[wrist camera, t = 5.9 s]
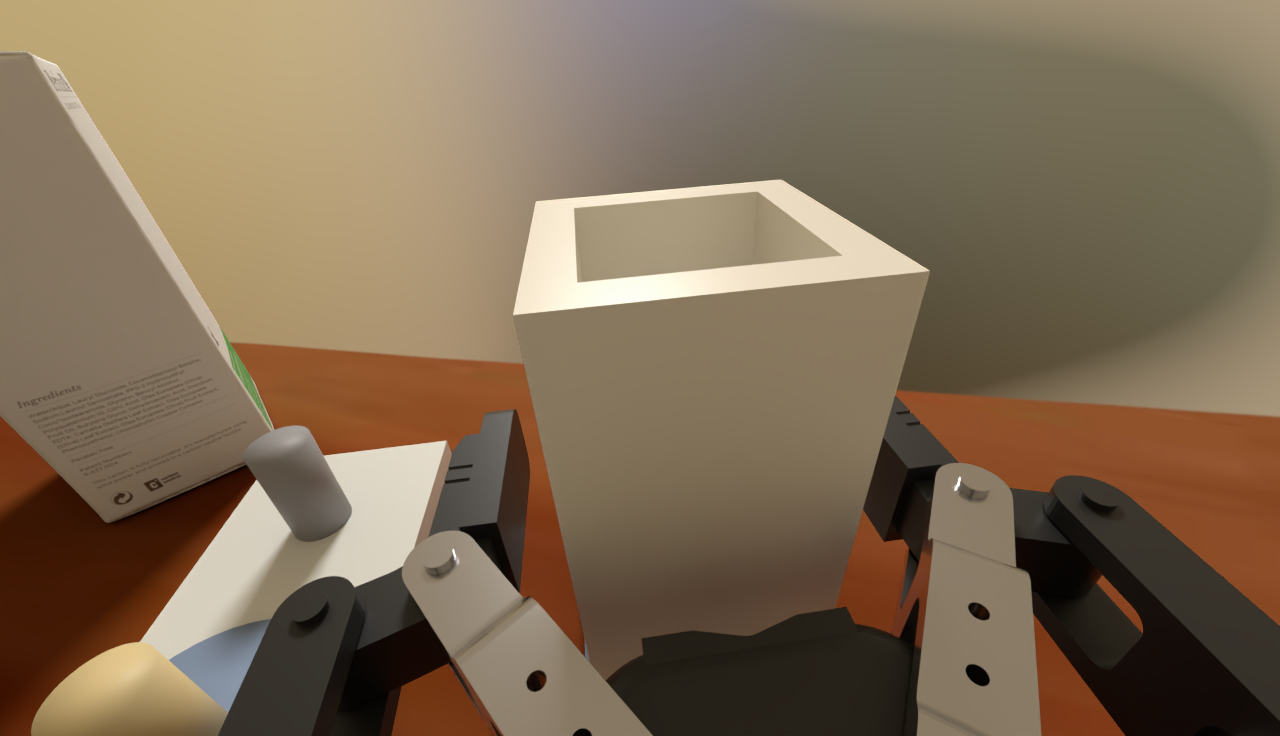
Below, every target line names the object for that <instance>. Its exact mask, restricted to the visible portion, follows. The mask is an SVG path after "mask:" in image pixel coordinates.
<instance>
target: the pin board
mask: <svg viewBox="0 0 1280 736" xmlns="http://www.w3.org/2000/svg"><path fill="white" fill-rule="evenodd" d="M451 456H452V454H451V451H450V448H449V446H448V443H447V441H440V442H432V443H424V444H416V445H408V446H400V447H392V448H383V449H375V450H367V451H359V452H351V453H343V454H334V455H326V456H323V454H322V452H321V451H320V449H319V447H318V445H317V443H316V442H315V440H314V438H313V436H312V434H311V433H310V431H309V429H308V428H306V427H303V426H287V427H283V428H279V429H276V430H273V431H271V432H269V433H267V434H265V435H263V436H261V437H259V438H258V439H256V440H255V441H254V442H253V443H251V444H250V445H249V446H248V447H247V449H246V450H245V452H244V454H243V460H244V461H245V463H246V464H247V466H248V467H249V469H250V470H251V472H252V473H253V475H254V476H255V478H256V479H257V480H256V481H255V483H254V484H253V485H252V487H251V488H250V490H249V491H248V492H247V494H246V495H245V497H244V498H243V499H242V501H241V502H240V504H239V505H238V506H237V508H236V509H235V510H234V512H233V513H232V515H231V516H230V517H229V519H228V520H227V522H226V523H225V524H224V526H223V527H222V529H221V530H220V531H219V533H218V534H217V535H216V537H215V538H214V540H213V541H212V542H211V544H210V545H209V547H208V548H207V549H206V551H205V552H204V554H203V555H202V556H201V558H200V559H199V560H198V562H197V563H196V565H195V566H194V567H193V569H192V570H191V572H190V573H189V574H188V576H187V577H186V579H185V580H184V581H183V583H182V584H181V585H180V587H179V588H178V590H177V591H176V592H175V594H174V595H173V597H172V598H171V599H170V601H169V602H168V604H167V605H166V606H165V608H164V609H163V611H162V612H161V613H160V615H159V616H158V617H157V619H156V620H155V622H154V623H153V624H152V626H151V627H150V629H149V630H148V631H147V633H146V634H145V636H144V637H143V638H142V640H141V641H140V642H135V643H129V644H124V645H121V646H118V647H115V648H113V649H110V650H108V651H106V652H104V653H102V654H100V655H98V656H96V657H95V658H93V659H91V660H90V661H88V662H86V663H85V664H83V665H82V666H81V667H79V668H78V669H77V670H75V671H74V672H73V673H71V674H70V675H69V676H68V677H67V678H65V679H64V680H63V681H62V682H61V683H60V684H59V685H58V686H57V687H56V688H55V689H54V690H53V691H52V692H51V694H50V695H49V696H48V697H47V698H46V700H45V701H44V702H43V704H42V705H41V707H40V708H39V710H38V712H37V714H36V716H35V718H34V720H33V723H32V728H31V734H32V736H218V734H219V732H220V730H221V728H222V725H223V723H224V721H225V719H226V717H227V714H228V712H229V710H230V708H231V706H232V704H233V701H234V699H235V697H236V695H237V693H238V690H239V688H240V686H241V684H242V682H243V679H244V677H245V675H246V673H247V671H248V669H249V666H250V664H251V662H252V660H253V658H254V655H255V653H256V651H257V649H258V647H259V644H260V642H261V640H262V638H263V636H264V634H265V631H266V629H267V627H268V625H269V623H270V620H271V618H272V617H273V615H274V613H275V611H276V610H277V609H278V607H279V606H280V605H281V604H282V603H283V601H284V600H285V599H286V598H288V597H289V596H290V595H291V594H292V593H293V592H295V591H296V590H297V589H299V588H301V587H302V586H304V585H306V584H308V583H310V582H312V581H314V580H317V579H319V578H323V577H329V576H340V577H344V578H346V579H348V580H349V581H350V582H351V583H352V584H353V586H354V587H356V586H359V585H361V584H364V583H366V582H369V581H371V580H374V579H376V578H378V577H381V576H383V575H386V574H388V573H390V572H393V571H395V570H397V569H398V568H400V567H402V566H403V564H404V562H405V560H406V558H407V556H408V555H409V553H410V552H411V551H412V550H413V549H414V548H415V547H416V546H417V545H418V544H419V543H420V542H422V541H423V540H425V539H426V538H428V536H429V533H430V529H431V526H432V522H433V519H434V515H435V512H436V508H437V505H438V501H439V498H440V494H441V491H442V487H443V484H445V481H444V480H445V477H446V473H447V471H448V466H449V463H450V459H451Z"/></svg>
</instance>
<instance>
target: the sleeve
mask: <svg viewBox="0 0 1280 736" xmlns="http://www.w3.org/2000/svg"><path fill="white" fill-rule="evenodd" d="M929 273H930V271H929V270H928V269H926V268H924V267H923V266H921V265H919V264H918V263H916V262H914V261H913V260H911V259H910V258H908V257H906V256H905V255H903V254H902V253H900V252H898V251H897V250H895V249H893V248H892V247H890V246H888V245H887V244H885V243H884V242H882V241H880V240H879V239H877V238H875V237H874V236H872V235H871V234H869V233H867V232H866V231H864V230H862V229H861V228H859V227H858V226H856V225H854V224H853V223H851V222H849V221H848V220H846V219H845V218H843V217H841V216H840V215H838V214H836V213H835V212H833V211H831V210H830V209H828V208H827V207H825V206H823V205H822V204H820V203H818V202H817V201H815V200H813V199H812V198H810V197H809V196H807V195H805V194H804V193H802V192H801V191H799V190H797V189H796V188H794V187H792V186H791V185H789V184H788V183H786V182H784V181H783V180H770V181H760V182H748V183H738V184H726V185H715V186H703V187H692V188H681V189H671V190H660V191H647V192H637V193H625V194H614V195H603V196H592V197H580V198H569V199H558V200H547V201H536V205H535V210H534V214H533V219H532V224H531V229H530V234H529V239H528V244H527V249H526V254H525V259H524V264H523V269H522V274H521V279H520V284H519V289H518V293H517V299H516V303H515V309H514V314H513V317H514V321H515V326H516V330H517V335H518V339H519V344H520V348H521V353H522V357H523V362H524V367H525V371H526V376H527V380H528V385H529V389H530V394H531V398H532V403H533V407H534V412H535V416H536V421H537V425H538V430H539V434H540V439H541V444H542V448H543V453H544V457H545V462H546V466H547V471H548V475H549V480H550V484H551V489H552V493H553V498H554V502H555V507H556V511H557V516H558V520H559V525H560V530H561V534H562V539H563V543H564V548H565V552H566V557H567V561H568V566H569V570H570V575H571V579H572V584H573V588H574V593H575V597H576V602H577V607H578V611H579V616H580V620H581V625H582V629H583V634H584V638H585V658H586V659H587V660H588V661H589V663H590V664H591V665H592V666H593V667H594V668H595V669H596V671H597V672H598V673H599V674H600V675H601V676H602V678H603V679H604V680H605V681H606V680H607V679H608V678H609V677H610V675H612V674H613V673H614V672H615V671H617V670H618V669H619V668H620V667H621V666H623V665H625V664H626V663H628V662H629V661H631V660H633V659H635V658H637V657H639V656H641V655H643V648H642V639H641V638H647V637H653V636H660V635H666V634H673V633H680V632H686V631H703V632H712V633H721V634H731V635H740V636H751V635H754V634H756V633H759V632H761V631H763V630H765V629H767V628H769V627H771V626H773V625H776V624H778V623H780V622H782V621H784V620H786V619H788V618H791V617H793V616H795V615H797V614H803V613H810V612H816V611H823V610H829V609H835V606H836V603H837V599H838V596H839V592H840V589H841V585H842V582H843V578H844V574H845V571H846V567H847V564H848V560H849V557H850V553H851V550H852V546H853V543H854V539H855V535H856V532H857V528H858V525H859V521H860V518H861V514H862V511H863V507H864V504H865V500H866V496H867V493H868V489H869V486H870V482H871V479H872V475H873V472H874V468H875V464H876V461H877V457H878V454H879V450H880V447H881V443H882V440H883V436H884V433H885V429H886V425H887V422H888V418H889V415H890V411H891V408H892V404H893V401H894V397H895V394H896V390H897V386H898V383H899V379H900V376H901V372H902V368H903V365H904V362H905V358H906V355H907V351H908V347H909V344H910V340H911V337H912V333H913V329H914V326H915V323H916V319H917V316H918V312H919V308H920V305H921V301H922V297H923V294H924V290H925V287H926V283H927V280H928V276H929Z"/></svg>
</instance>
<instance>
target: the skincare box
mask: <svg viewBox="0 0 1280 736" xmlns="http://www.w3.org/2000/svg"><path fill="white" fill-rule="evenodd" d="M0 416H1V417H2V418H3V419H4V420H5V421H6V422H7V423H8V424H9V425H10V426H11V427H12V428H13V429H14V430H15V431H16V432H17V433H18V434H19V435H20V436H21V437H22V438H23V439H24V440H25V441H26V442H27V443H28V444H29V445H30V446H31V447H32V448H33V449H34V450H35V451H36V452H37V453H38V454H39V455H40V456H41V457H42V458H43V459H44V460H45V461H46V462H47V463H48V464H49V465H50V466H51V467H52V468H53V469H55V471H56V472H57V473H58V474H59V475H60V476H61V477H62V478H63V479H64V480H65V481H66V482H67V483H68V484H69V485H70V486H71V487H72V488H73V489H74V490H75V491H76V492H77V493H78V494H79V495H80V496H81V497H82V498H83V499H84V500H85V501H86V502H87V503H88V504H89V505H90V506H91V507H92V508H93V509H94V510H95V511H96V512H97V513H98V515H99V516H100V517H101V518H102V519H103V520H104V521H105V522H107V523H110V522H114V521H116V520H119V519H122V518H124V517H127V516H129V515H132V514H134V513H137V512H139V511H141V510H144V509H146V508H149V507H151V506H153V505H156V504H158V503H160V502H162V501H165V500H167V499H169V498H172V497H174V496H176V495H178V494H181V493H183V492H185V491H188V490H190V489H192V488H195V487H197V486H199V485H202V484H204V483H206V482H208V481H211V480H213V479H215V478H217V477H220V476H222V475H224V474H226V473H228V472H231V471H233V470H235V469H237V468H239V467H242V466H244V465H246V463H245V461H244V460H243V454H244V452H245V450H246V449H247V447H248V446H249V445H250V444H251V443H253V442H254V441H255V440H256V439H258V438H259V437H261V436H263V435H265V434H267V433H269V432H271V431H273V430H274V427H273V425H272V422H271V420H270V418H269V416H268V413H267V411H266V409H265V407H264V405H263V402H262V400H261V398H260V395H259V393H258V390H257V387H256V385H255V383H254V381H253V380H252V378H251V376H250V375H249V373H248V371H247V370H246V368H245V366H244V365H243V363H242V362H241V360H240V358H239V357H238V355H237V353H236V352H235V350H234V349H233V347H232V345H231V344H230V342H229V341H228V339H227V338H226V336H225V334H224V333H223V331H222V329H221V328H220V326H219V325H218V323H217V322H216V320H215V318H214V317H213V315H212V313H211V312H210V310H209V309H208V307H207V305H206V304H205V302H204V300H203V299H202V297H201V296H200V294H199V293H198V291H197V289H196V287H195V286H194V284H193V283H192V281H191V279H190V278H189V276H188V274H187V273H186V271H185V269H184V268H183V266H182V264H181V263H180V261H179V259H178V258H177V256H176V255H175V253H174V251H173V250H172V248H171V247H170V245H169V243H168V241H167V240H166V238H165V236H164V235H163V234H162V232H161V230H160V228H159V227H158V225H157V224H156V222H155V220H154V219H153V217H152V215H151V214H150V212H149V211H148V209H147V207H146V206H145V204H144V203H143V201H142V199H141V198H140V196H139V195H138V193H137V191H136V190H135V188H134V186H133V185H132V183H131V182H130V180H129V178H128V177H127V175H126V173H125V172H124V170H123V169H122V167H121V166H120V164H119V162H118V161H117V159H116V158H115V156H114V154H113V153H112V151H111V150H110V148H109V146H108V145H107V143H106V142H105V140H104V139H103V137H102V135H101V134H100V132H99V131H98V129H97V127H96V126H95V124H94V123H93V121H92V119H91V118H90V116H89V115H88V113H87V112H86V110H85V108H84V107H83V105H82V103H81V102H80V100H79V99H78V97H77V95H76V94H75V92H74V91H73V89H72V88H71V86H70V84H69V83H68V81H67V80H66V78H65V76H64V75H63V73H62V72H61V70H60V68H59V67H58V66H57V65H56V64H54V63H51V62H48V61H46V60H44V59H42V58H39V57H37V56H35V55H32V54H31V53H29V52H19V51H14V52H13V51H3V52H2V51H1V52H0Z"/></svg>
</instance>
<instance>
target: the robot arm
mask: <svg viewBox="0 0 1280 736" xmlns="http://www.w3.org/2000/svg"><path fill="white" fill-rule="evenodd" d="M529 480H530V467H529V458H528V453H527V449H526V445H525V441H524V437H523V432H522V428H521V424H520V420H519V416H518V413H517V411H516V409H513V410H504V411H496V412H487V413H485V415H484V418H483V422H482V427H481V431H480V434H473V435H466V436H465V437H464V438H463V439H462V440H461V442H460V443H459V444H458V445H457V446H456V448H455V449H454V450H453V452H452V456H451V459H450V463H449V466H448V471H447V473H446V477H445V480H444V481H445V484H443V487H442V491H441V494H440V498H439V501H438V505H437V508H436V512H435V515H434V519H433V522H432V526H431V529H430V533H429V536H428V538H426V539H425V540H423V541H422V542H420V543H419V544H418V545H417V546H416V547H415V548H414V549H413V550H412V551H411V552H410V553H409V555H408V556H407V558H406V560H405V562H404V564H403V566H402V567H400V568H398V569H397V570H395V571H393V572H390V573H388V574H386V575H383V576H381V577H378V578H376V579H374V580H371V581H369V582H366V583H364V584H361V585H359V586H356V587H354V586H353V584H352V583H351V582H350V581H349V580H348V579H346V578H344V577H340V576H329V577H323V578H319V579H317V580H314V581H312V582H310V583H308V584H306V585H304V586H302V587H301V588H299V589H297V590H296V591H295V592H293V593H292V594H291V595H290V596H289V597H288V598H286V599H285V600H284V601H283V603H282V604H281V605H280V606H279V607H278V609H277V610H276V611H275V613H274V615H273V617H272V618H271V620H270V623H269V625H268V627H267V629H266V631H265V634H264V636H263V638H262V640H261V642H260V644H259V647H258V649H257V651H256V653H255V655H254V658H253V660H252V662H251V664H250V666H249V669H248V671H247V673H246V675H245V677H244V679H243V682H242V684H241V686H240V688H239V690H238V693H237V695H236V697H235V699H234V701H233V704H232V706H231V708H230V710H229V712H228V714H227V717H226V719H225V721H224V723H223V725H222V728H221V730H220V732H219V734H218V736H391V734H392V730H393V725H394V720H395V715H396V710H397V705H398V700H399V695H400V690H401V686H403V685H405V684H407V683H409V682H411V681H413V680H415V679H417V678H419V677H421V676H423V675H425V674H427V673H429V672H431V671H433V670H435V669H438V668H440V667H442V666H444V665H446V664H448V665H449V667H450V668H451V670H452V672H453V673H454V675H455V676H456V678H457V680H458V681H459V683H460V684H461V686H462V688H463V689H464V691H465V692H466V694H467V696H468V697H469V699H470V700H471V702H472V704H473V705H474V707H475V709H476V710H477V712H478V713H479V715H480V717H481V718H482V720H483V721H484V723H485V725H486V726H487V728H488V730H489V731H490V733H491V735H492V736H1041V724H1040V709H1039V695H1038V680H1037V666H1036V651H1035V637H1034V622H1033V614H1034V615H1035V616H1036V618H1037V619H1038V620H1039V622H1040V623H1041V624H1042V626H1043V627H1044V628H1045V630H1046V631H1047V632H1048V634H1049V635H1050V636H1051V638H1052V639H1053V640H1054V642H1055V643H1056V644H1057V646H1058V647H1059V648H1060V650H1061V651H1062V652H1063V653H1064V655H1065V656H1066V657H1067V659H1068V660H1069V661H1070V663H1071V664H1072V665H1073V667H1074V668H1075V669H1076V671H1077V672H1078V673H1079V675H1080V676H1081V677H1082V679H1083V680H1084V681H1085V683H1086V684H1087V685H1088V687H1089V688H1090V689H1091V691H1092V692H1093V693H1094V695H1095V696H1096V697H1097V698H1098V700H1099V701H1100V702H1101V704H1102V705H1103V706H1104V708H1105V709H1106V710H1107V712H1108V713H1109V714H1110V716H1111V717H1112V718H1113V720H1114V721H1115V722H1116V724H1117V725H1118V726H1119V728H1120V729H1121V730H1122V732H1123V733H1124V734H1125V736H1280V626H1279V625H1278V624H1277V623H1276V622H1274V621H1273V620H1272V619H1271V618H1270V617H1269V616H1267V615H1266V614H1265V613H1264V612H1263V611H1262V610H1260V609H1259V608H1258V607H1257V606H1256V605H1255V604H1253V603H1252V602H1251V601H1250V600H1249V599H1248V598H1247V597H1245V596H1244V595H1243V594H1242V593H1241V592H1240V591H1238V590H1237V589H1236V588H1235V587H1234V586H1233V585H1231V584H1230V583H1229V582H1228V581H1227V580H1226V579H1224V578H1223V577H1222V576H1221V575H1220V574H1219V573H1217V572H1216V571H1215V570H1214V569H1213V568H1212V567H1210V566H1209V565H1208V564H1207V563H1206V562H1205V561H1203V560H1202V559H1201V558H1200V557H1199V556H1198V555H1196V554H1195V553H1194V552H1193V551H1192V550H1191V549H1190V548H1188V547H1187V546H1186V545H1185V544H1184V543H1183V542H1181V541H1180V540H1179V539H1178V538H1177V537H1176V536H1174V535H1173V534H1172V533H1171V532H1170V531H1169V530H1167V529H1166V528H1165V527H1164V526H1163V525H1162V524H1160V523H1159V522H1158V521H1157V520H1156V519H1155V518H1153V517H1152V516H1151V515H1150V514H1149V513H1148V512H1146V511H1145V510H1144V509H1143V508H1142V507H1141V506H1139V505H1138V504H1137V503H1136V502H1135V501H1134V500H1133V499H1131V498H1130V497H1129V496H1128V495H1126V494H1125V493H1123V492H1122V491H1120V490H1119V489H1117V488H1115V487H1113V486H1111V485H1109V484H1107V483H1105V482H1102V481H1099V480H1096V479H1093V478H1089V477H1084V476H1064V477H1061V478H1059V479H1058V480H1057V481H1056V482H1055V483H1054V485H1053V487H1052V489H1051V490H1050V492H1049V493H1048V492H1039V491H1031V490H1022V489H1013V488H1009V487H1008V486H1007V485H1006V484H1005V483H1004V482H1003V481H1002V480H1001V479H1000V478H999V477H997V476H996V475H994V474H993V473H991V472H989V471H987V470H985V469H983V468H980V467H977V466H974V465H970V464H965V463H959V462H958V461H957V460H956V459H955V458H954V457H953V456H952V455H951V454H950V453H949V452H948V451H947V450H946V449H945V448H944V446H943V445H942V444H941V443H940V442H939V441H938V440H937V439H936V438H935V437H934V436H933V435H932V434H931V433H930V432H929V431H928V429H927V428H926V427H925V426H924V425H923V424H922V425H921V424H920V421H919V420H918V419H917V418H916V417H915V416H914V415H913V414H912V413H911V414H910V410H909V409H908V408H907V407H906V406H905V405H904V404H903V403H902V402H901V401H900V400H899V399H898V398H897V397H896V396H895V397H894V401H893V404H892V408H891V411H890V415H889V418H888V422H887V425H886V429H885V433H884V436H883V440H882V443H881V447H880V450H879V454H878V457H877V461H876V464H875V468H874V472H873V475H872V479H871V482H870V486H869V489H868V493H867V496H866V500H865V504H864V507H863V510H864V511H865V513H866V514H867V516H868V518H869V519H870V521H871V522H872V524H873V525H874V527H875V529H876V530H877V532H878V533H879V535H880V536H881V538H882V539H883V541H884V542H885V541H892V540H899V539H904V541H905V542H906V544H907V545H908V548H907V551H906V554H905V558H904V565H903V571H902V577H901V583H900V589H899V595H898V602H897V608H896V614H895V620H894V624H893V628H892V632H891V634H890V633H888V632H885V631H882V630H879V629H877V628H874V627H869V626H865V625H861V624H854V622H853V620H852V618H851V615H850V613H849V611H848V609H847V607H842V608H836V609H829V610H823V611H816V612H810V613H803V614H797V615H795V616H793V617H791V618H788V619H786V620H784V621H782V622H780V623H778V624H776V625H773V626H771V627H769V628H767V629H765V630H763V631H761V632H759V633H756V634H754V635H751V636H740V635H731V634H721V633H712V632H703V631H686V632H680V633H673V634H666V635H660V636H653V637H647V638H641V639H642V648H643V655H641V656H639V657H637V658H635V659H633V660H631V661H629V662H628V663H626V664H625V665H623V666H621V667H620V668H619V669H618V670H617V671H615V672H614V673H613V674H612V675H610V677H609V678H608V679H607V680H606V681H605V680H604V679H603V678H602V676H601V675H600V674H599V673H598V672H597V671H596V669H595V668H594V667H593V666H592V665H591V664H590V663H589V661H588V660H587V659H586V658H585V657H584V656H583V654H582V653H581V652H580V651H579V650H578V649H577V648H576V646H575V645H574V644H573V643H572V642H571V641H570V639H569V638H568V637H567V636H566V635H565V634H564V633H563V631H562V630H561V629H560V628H559V627H558V626H557V624H556V623H555V622H554V621H553V620H552V619H551V618H550V616H549V615H548V614H547V613H546V612H545V611H544V609H543V608H542V607H541V606H540V605H539V604H538V603H537V602H536V601H535V600H534V599H533V598H531V597H527V598H526V599H525V598H523V597H522V596H521V595H520V594H519V593H520V582H521V571H522V559H523V548H524V537H525V525H526V514H527V503H528V492H529ZM1102 575H1103V576H1104V577H1105V578H1106V579H1107V580H1108V581H1109V582H1110V583H1111V584H1112V585H1113V586H1114V587H1115V588H1116V590H1117V591H1118V592H1119V593H1120V594H1121V595H1122V596H1123V597H1124V598H1125V599H1126V600H1127V601H1128V602H1129V603H1130V604H1131V605H1132V607H1133V608H1134V609H1135V610H1136V612H1137V613H1138V615H1139V617H1140V619H1141V621H1142V624H1143V634H1142V633H1141V631H1140V630H1139V629H1138V628H1137V627H1136V626H1135V625H1134V624H1133V623H1132V622H1131V621H1130V619H1129V618H1128V617H1127V616H1126V615H1125V614H1124V613H1123V612H1122V611H1121V610H1120V609H1119V607H1118V606H1117V605H1116V604H1115V603H1114V602H1113V601H1112V600H1111V599H1110V598H1109V597H1108V595H1107V594H1106V593H1105V592H1104V591H1103V590H1102V589H1101V588H1100V587H1099V586H1098V584H1097V581H1098V580H1099V579H1100V577H1101V576H1102Z"/></svg>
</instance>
